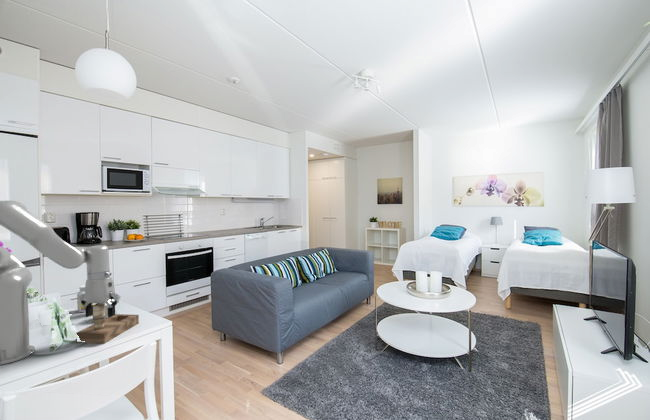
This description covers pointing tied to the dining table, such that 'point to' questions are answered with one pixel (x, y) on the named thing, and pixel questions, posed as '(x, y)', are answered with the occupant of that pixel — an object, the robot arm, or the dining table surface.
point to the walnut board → (108, 328)
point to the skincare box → (107, 310)
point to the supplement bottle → (80, 305)
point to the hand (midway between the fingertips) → (100, 315)
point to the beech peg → (99, 316)
